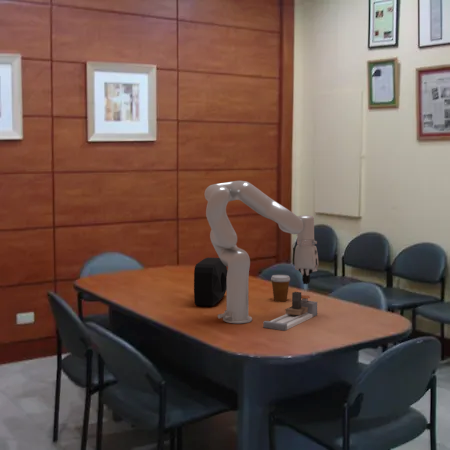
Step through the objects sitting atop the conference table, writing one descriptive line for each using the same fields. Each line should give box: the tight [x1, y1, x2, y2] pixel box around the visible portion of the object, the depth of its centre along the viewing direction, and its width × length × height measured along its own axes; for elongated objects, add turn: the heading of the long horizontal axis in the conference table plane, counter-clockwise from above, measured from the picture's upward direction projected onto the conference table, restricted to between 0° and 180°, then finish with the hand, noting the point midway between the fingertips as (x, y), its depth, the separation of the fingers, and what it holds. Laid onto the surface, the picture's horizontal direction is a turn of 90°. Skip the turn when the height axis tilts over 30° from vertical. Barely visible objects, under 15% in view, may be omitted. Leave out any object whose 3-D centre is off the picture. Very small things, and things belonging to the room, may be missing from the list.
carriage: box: [284, 291, 308, 316], centre depth 312 cm, size 8×7×9 cm
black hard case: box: [193, 257, 228, 307], centre depth 347 cm, size 30×12×20 cm, turn 168°
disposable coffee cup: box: [270, 274, 291, 303], centre depth 349 cm, size 10×10×12 cm
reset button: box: [301, 294, 311, 302], centre depth 319 cm, size 4×4×2 cm
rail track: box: [262, 299, 318, 332], centre depth 308 cm, size 32×10×6 cm, turn 148°
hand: (306, 283), depth 319 cm, fingers closed
